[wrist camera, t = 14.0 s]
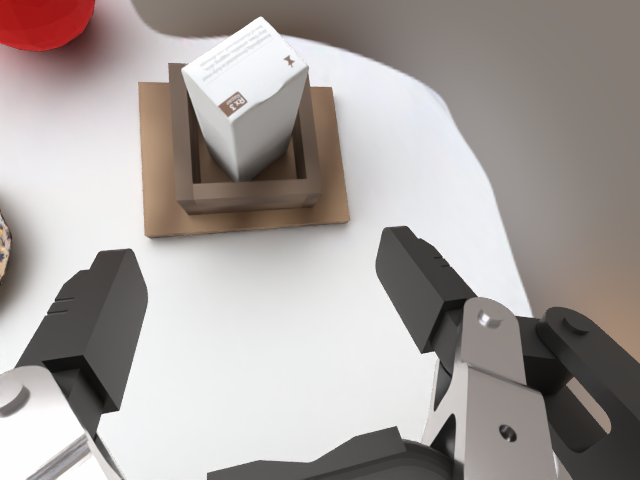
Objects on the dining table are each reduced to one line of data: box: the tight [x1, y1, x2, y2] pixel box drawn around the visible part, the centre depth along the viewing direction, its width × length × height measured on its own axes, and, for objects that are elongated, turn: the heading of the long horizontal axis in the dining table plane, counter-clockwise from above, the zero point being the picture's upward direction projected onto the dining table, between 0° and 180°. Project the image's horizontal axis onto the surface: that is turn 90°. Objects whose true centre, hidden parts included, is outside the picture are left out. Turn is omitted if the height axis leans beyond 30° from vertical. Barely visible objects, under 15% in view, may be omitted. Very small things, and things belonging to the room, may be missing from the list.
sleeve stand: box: [138, 63, 350, 238], centre depth 27 cm, size 18×14×6 cm
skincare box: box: [181, 17, 309, 182], centre depth 23 cm, size 6×4×12 cm
